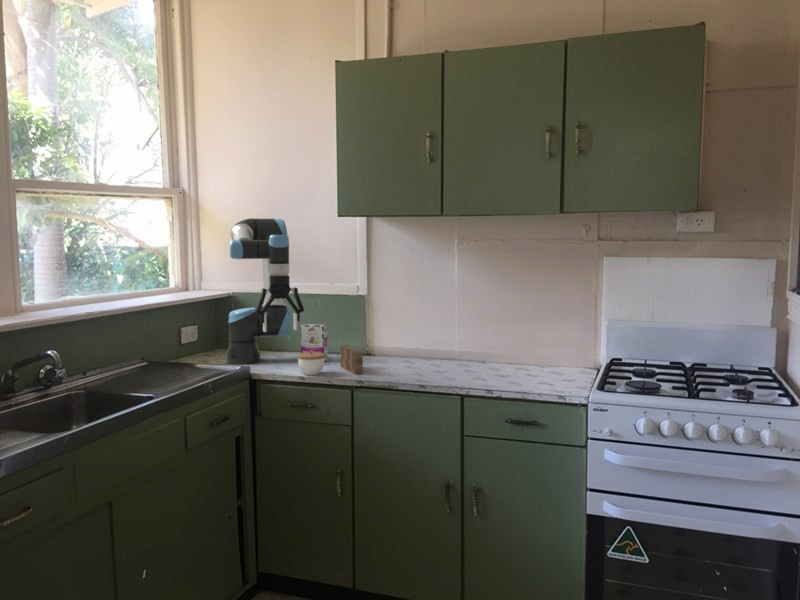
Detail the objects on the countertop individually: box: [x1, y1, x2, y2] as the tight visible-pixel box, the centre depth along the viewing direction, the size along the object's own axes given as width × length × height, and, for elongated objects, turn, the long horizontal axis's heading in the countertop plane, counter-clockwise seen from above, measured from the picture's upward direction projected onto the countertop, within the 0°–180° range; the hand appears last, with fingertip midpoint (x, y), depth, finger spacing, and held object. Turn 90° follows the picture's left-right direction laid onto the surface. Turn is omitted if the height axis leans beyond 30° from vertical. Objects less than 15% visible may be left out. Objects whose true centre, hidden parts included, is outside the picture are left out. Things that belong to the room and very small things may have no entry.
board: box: [340, 344, 364, 375], centre depth 266 cm, size 18×3×9 cm, turn 24°
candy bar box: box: [300, 323, 329, 363], centre depth 287 cm, size 11×5×16 cm, turn 73°
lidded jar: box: [297, 350, 325, 376], centre depth 259 cm, size 11×11×9 cm
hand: (280, 330), depth 253 cm, fingers open, 11 cm apart
